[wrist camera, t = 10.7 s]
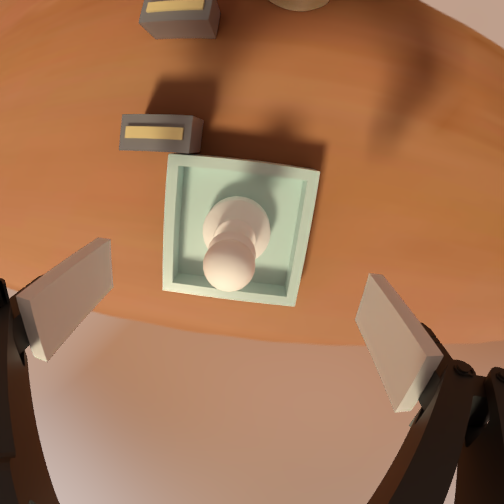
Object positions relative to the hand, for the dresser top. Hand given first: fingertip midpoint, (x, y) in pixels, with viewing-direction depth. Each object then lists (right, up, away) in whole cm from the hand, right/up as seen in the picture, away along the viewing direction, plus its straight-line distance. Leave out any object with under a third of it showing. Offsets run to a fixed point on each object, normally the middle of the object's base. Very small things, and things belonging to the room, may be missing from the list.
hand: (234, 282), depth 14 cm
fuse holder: (-5, +15, +6) cm, 17 cm away
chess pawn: (0, +3, +9) cm, 10 cm away
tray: (0, +4, +10) cm, 10 cm away
